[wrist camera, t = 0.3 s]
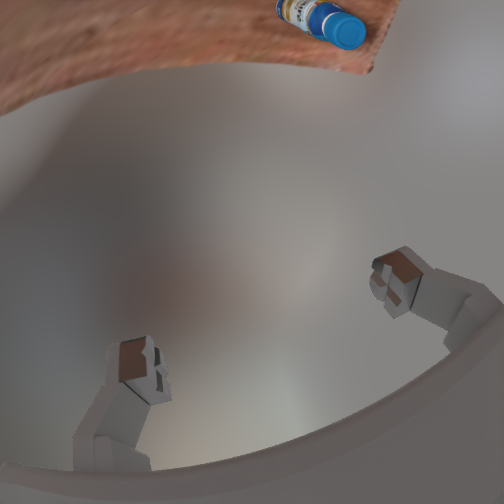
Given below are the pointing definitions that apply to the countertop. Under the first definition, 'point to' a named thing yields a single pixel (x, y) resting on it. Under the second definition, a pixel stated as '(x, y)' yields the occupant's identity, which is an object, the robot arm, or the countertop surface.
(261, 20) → the countertop surface
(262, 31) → the countertop surface
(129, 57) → the countertop surface
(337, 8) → the beverage bottle
